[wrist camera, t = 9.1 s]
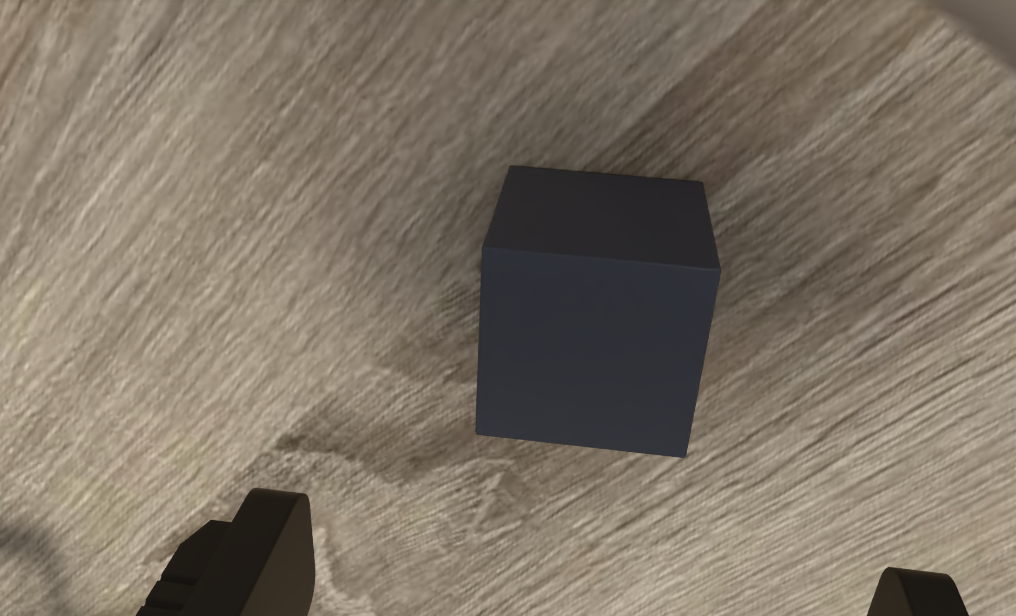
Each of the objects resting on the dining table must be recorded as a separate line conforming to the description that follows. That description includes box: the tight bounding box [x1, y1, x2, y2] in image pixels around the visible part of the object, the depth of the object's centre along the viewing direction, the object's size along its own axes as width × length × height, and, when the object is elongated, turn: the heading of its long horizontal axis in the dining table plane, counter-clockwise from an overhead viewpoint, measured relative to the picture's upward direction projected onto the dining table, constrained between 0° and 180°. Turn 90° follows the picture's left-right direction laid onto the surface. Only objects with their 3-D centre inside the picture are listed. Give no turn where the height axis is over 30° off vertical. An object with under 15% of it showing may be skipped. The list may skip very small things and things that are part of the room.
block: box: [475, 166, 721, 458], centre depth 19 cm, size 4×4×4 cm
